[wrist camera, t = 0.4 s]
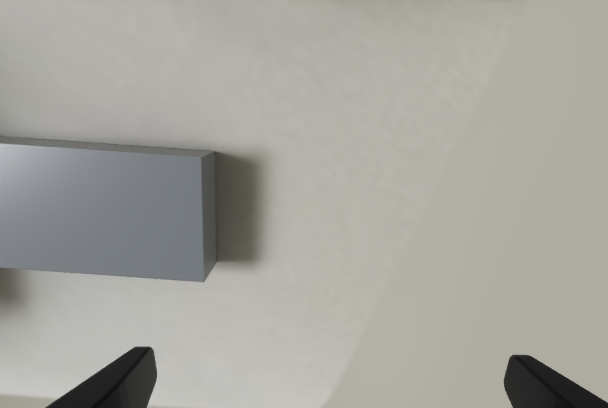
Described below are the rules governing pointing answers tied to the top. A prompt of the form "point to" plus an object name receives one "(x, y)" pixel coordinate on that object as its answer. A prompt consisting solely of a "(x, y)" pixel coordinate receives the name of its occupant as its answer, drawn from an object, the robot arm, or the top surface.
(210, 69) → the top surface
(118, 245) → the grey chamfered block
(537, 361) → the robot arm
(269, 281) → the top surface
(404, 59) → the top surface
